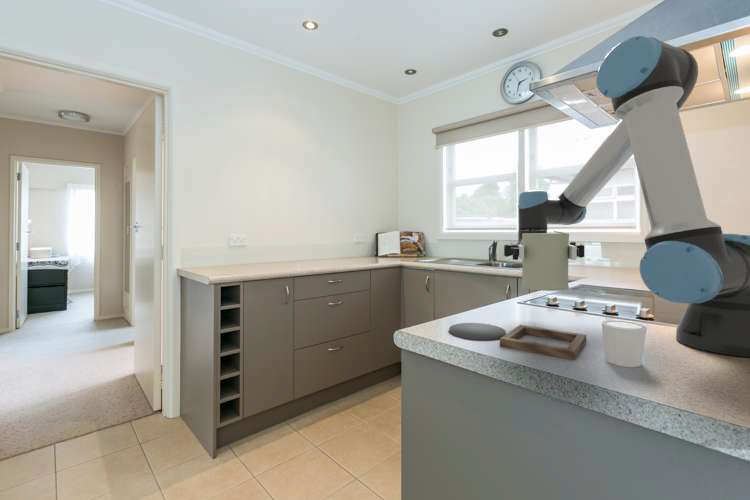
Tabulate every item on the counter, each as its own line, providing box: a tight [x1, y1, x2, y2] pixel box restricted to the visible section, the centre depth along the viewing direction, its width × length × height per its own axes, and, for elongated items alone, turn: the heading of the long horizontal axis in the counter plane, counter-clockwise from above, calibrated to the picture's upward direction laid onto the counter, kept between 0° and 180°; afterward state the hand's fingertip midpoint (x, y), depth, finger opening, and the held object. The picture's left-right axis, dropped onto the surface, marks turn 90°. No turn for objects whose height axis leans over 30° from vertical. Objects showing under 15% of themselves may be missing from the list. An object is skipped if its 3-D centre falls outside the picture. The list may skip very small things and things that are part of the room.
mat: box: [448, 322, 507, 341], centre depth 88 cm, size 13×13×1 cm
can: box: [520, 230, 570, 292], centre depth 78 cm, size 9×9×12 cm
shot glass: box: [601, 320, 648, 368], centre depth 68 cm, size 7×7×7 cm
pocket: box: [499, 324, 587, 361], centre depth 79 cm, size 14×14×2 cm
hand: (547, 252), depth 74 cm, fingers closed on can, 9 cm apart
